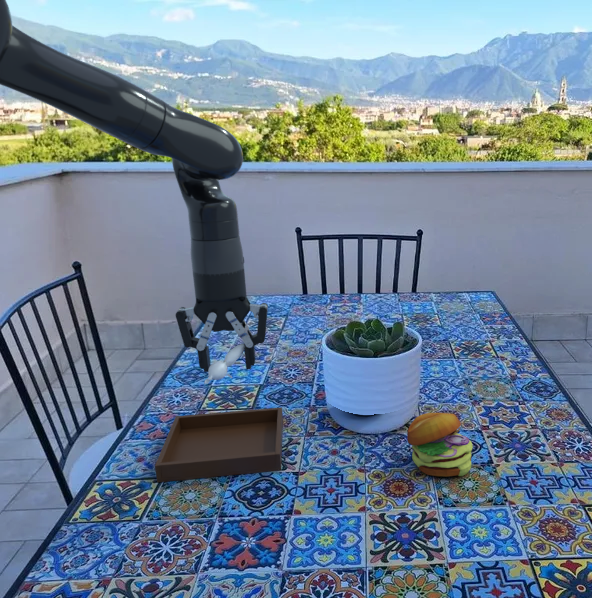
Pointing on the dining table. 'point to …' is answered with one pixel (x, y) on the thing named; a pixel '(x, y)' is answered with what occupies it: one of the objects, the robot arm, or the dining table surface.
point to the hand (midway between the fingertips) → (228, 368)
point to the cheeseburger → (439, 445)
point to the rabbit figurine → (224, 364)
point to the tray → (222, 445)
